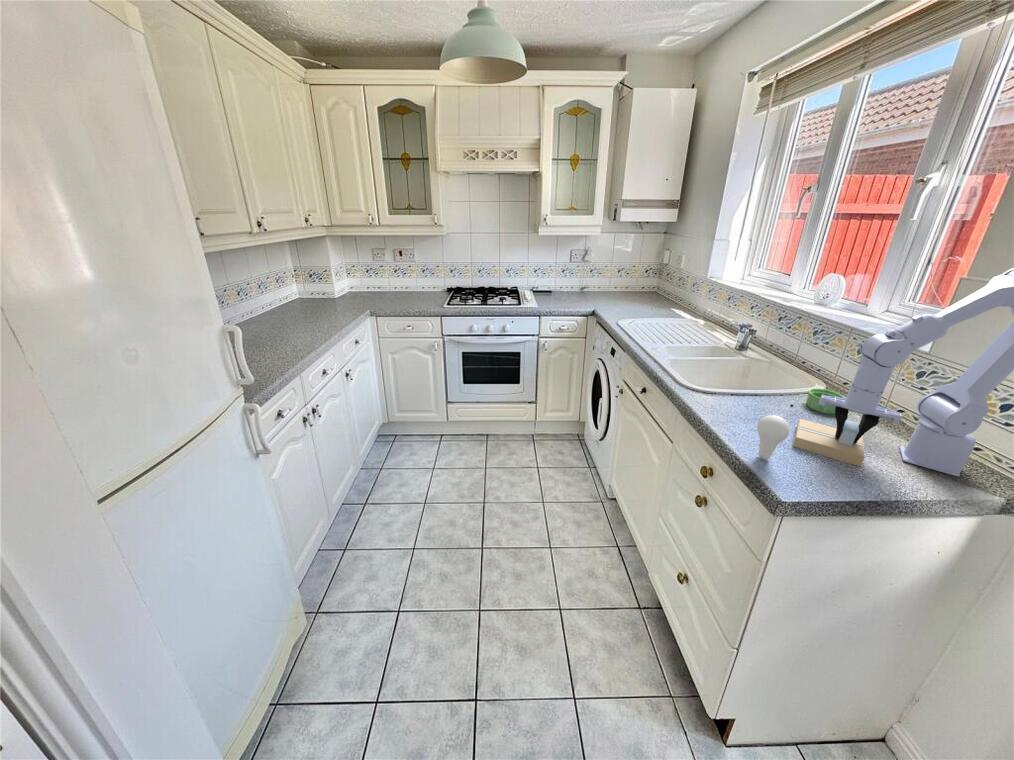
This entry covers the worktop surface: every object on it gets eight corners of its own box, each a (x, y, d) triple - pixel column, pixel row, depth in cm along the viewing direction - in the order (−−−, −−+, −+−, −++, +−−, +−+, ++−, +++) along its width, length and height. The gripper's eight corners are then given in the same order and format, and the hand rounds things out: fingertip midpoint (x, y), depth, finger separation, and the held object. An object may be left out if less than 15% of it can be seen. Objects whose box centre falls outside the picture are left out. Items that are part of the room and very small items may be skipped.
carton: (858, 444, 101) (862, 435, 100) (860, 466, 93) (864, 456, 92) (796, 427, 108) (799, 418, 107) (792, 446, 100) (796, 436, 99)
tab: (852, 437, 99) (858, 422, 97) (852, 446, 95) (859, 431, 93) (837, 433, 100) (843, 419, 99) (837, 442, 97) (843, 427, 95)
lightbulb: (768, 451, 97) (781, 410, 93) (784, 466, 92) (800, 424, 87) (742, 450, 97) (755, 410, 93) (757, 466, 91) (772, 423, 87)
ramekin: (797, 404, 122) (801, 390, 120) (815, 399, 125) (820, 386, 124) (829, 417, 114) (834, 403, 113) (847, 412, 118) (853, 398, 116)
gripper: (907, 390, 91) (883, 442, 97) (828, 374, 99) (810, 422, 105) (911, 401, 86) (885, 455, 91) (827, 383, 94) (808, 433, 99)
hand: (845, 439), depth 98 cm, fingers closed on tab, 3 cm apart
